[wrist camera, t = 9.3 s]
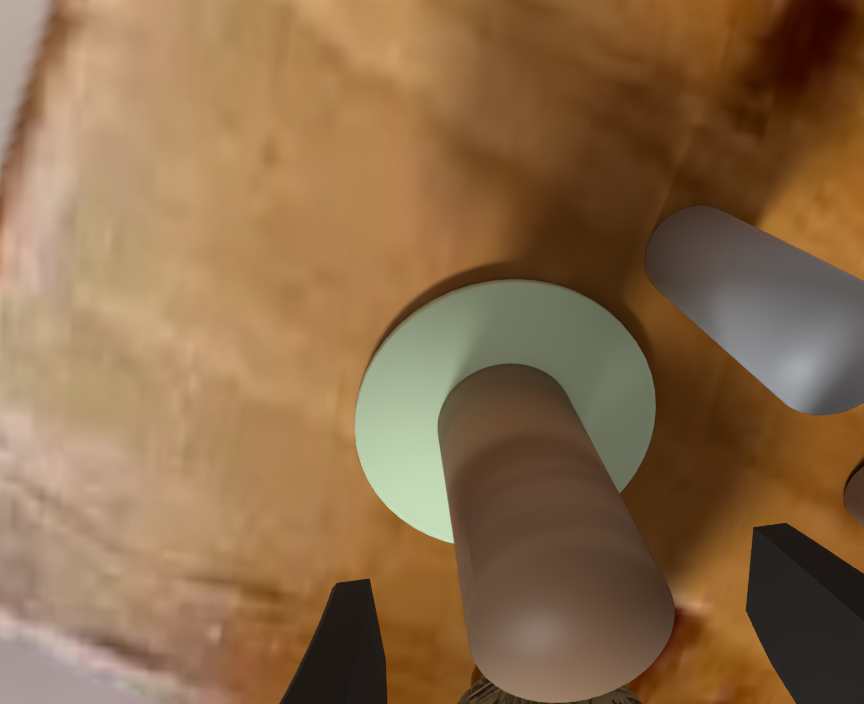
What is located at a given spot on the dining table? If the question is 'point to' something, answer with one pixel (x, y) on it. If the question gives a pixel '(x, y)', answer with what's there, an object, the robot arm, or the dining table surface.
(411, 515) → the coaster
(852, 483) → the post
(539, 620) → the dowel
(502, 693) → the cup
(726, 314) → the post
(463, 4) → the dining table surface
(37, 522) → the dining table surface
